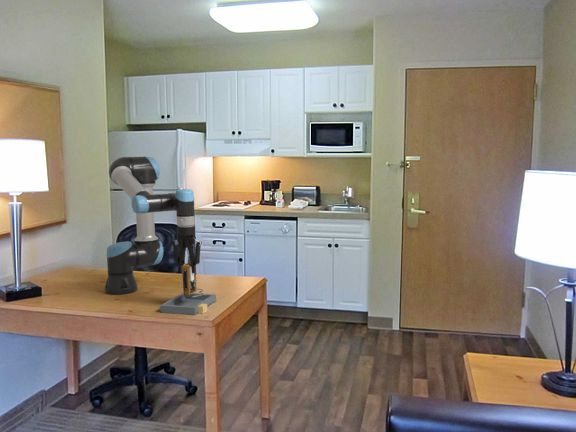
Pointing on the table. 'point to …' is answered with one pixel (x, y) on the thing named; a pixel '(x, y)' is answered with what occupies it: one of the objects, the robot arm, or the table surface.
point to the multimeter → (189, 285)
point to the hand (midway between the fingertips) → (188, 280)
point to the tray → (188, 304)
